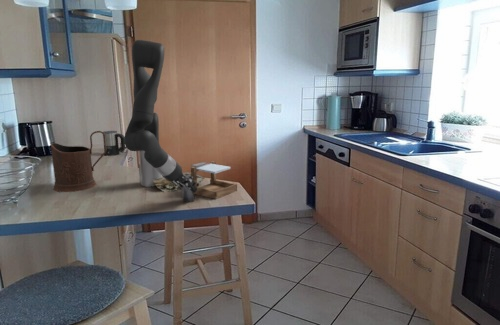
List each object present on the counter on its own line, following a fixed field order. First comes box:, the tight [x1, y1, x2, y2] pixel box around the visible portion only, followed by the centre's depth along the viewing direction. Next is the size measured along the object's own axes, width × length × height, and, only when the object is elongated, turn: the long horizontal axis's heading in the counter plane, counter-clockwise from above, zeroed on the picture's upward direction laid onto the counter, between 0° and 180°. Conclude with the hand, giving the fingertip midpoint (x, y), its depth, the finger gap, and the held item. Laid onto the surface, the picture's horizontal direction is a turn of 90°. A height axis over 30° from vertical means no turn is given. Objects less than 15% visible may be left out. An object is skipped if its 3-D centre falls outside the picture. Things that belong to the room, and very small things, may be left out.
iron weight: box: [182, 175, 195, 203], centre depth 152 cm, size 4×4×10 cm
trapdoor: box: [190, 161, 232, 175], centre depth 163 cm, size 15×10×2 cm
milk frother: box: [102, 130, 127, 156], centre depth 245 cm, size 14×16×15 cm
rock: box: [152, 172, 205, 192], centre depth 173 cm, size 23×7×15 cm
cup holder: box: [50, 130, 106, 193], centre depth 172 cm, size 18×24×25 cm
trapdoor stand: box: [190, 160, 238, 200], centre depth 163 cm, size 15×14×12 cm
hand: (191, 189), depth 154 cm, fingers closed on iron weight, 4 cm apart
